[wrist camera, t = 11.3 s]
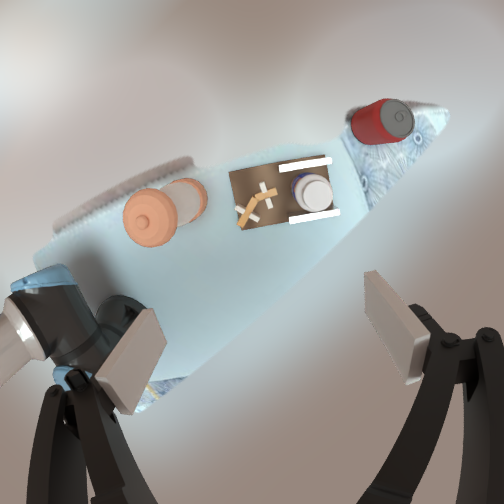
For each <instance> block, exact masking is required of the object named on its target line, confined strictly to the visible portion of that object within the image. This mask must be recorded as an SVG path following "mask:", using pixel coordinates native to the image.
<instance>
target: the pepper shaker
mask: <svg viewBox="0 0 504 504" xmlns="http://www.w3.org/2000/svg"><path fill="white" fill-rule="evenodd" d="M207 199H208V198H207V193H206V190H205V189H204V187H203V185H202V184H200V183H199V182H198V181H196V180H194V179H189V178H185V179H180V180H176V181H173V182H172V183H170V184H168V185H166V186H164V187H163V188H161V189H160V190H157V189H151V188H146V189H143V190H139V191H138V192H136V193H135V194H134V195H132V196H131V197H130V199H129V200H128V202H127V203H126V205H125V208H124V211H123V223H124V227H125V230H126V232H127V233H128V235H129V237H130V238H131V239H132V240H133V241H135V242H136V243H137V244H139V245H141V246H144V247H157V246H162V245H163V244H165V243H167V242H168V241H169V240H170V239H171V238H172V237H173V235H174V233H175V231H176V228H177V227H180V226H183V225H185V224H187V223H189V222H191V221H193V220H195V219H196V218H197V217H199V216H200V215H201V214H202V213H203V211H204V210H205V208H206V205H207Z"/></svg>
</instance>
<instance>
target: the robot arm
mask: <svg viewBox="0 0 504 504" xmlns="http://www.w3.org/2000/svg"><path fill="white" fill-rule="evenodd" d="M77 285H78V284H77V282H75V280H74V279H73V277H72V275H71V273H70V271H69V269H68V268H67V266H65V265H64V264H55V265H52V266H50V267H47V268H45V269H42V270H40V271H37V272H35V273H33V274H31V275H28V276H27V277H24V278H22V279H20V280H18V281H15V282H13V283H12V284H11V292H12V293H13V294H11V295H10V296H8V297H7V298H6V299H5V303H4V309H3V312H2V313H1V314H0V387H2V386H3V385H4V384H5V383H6V382H7V381H8V380H9V379H10V378H11V377H12V376H13V375H15V374H16V373H17V372H18V371H19V370H20V369H21V368H22V367H23V366H24V365H26V364H27V363H28V362H29V361H30V360H31V359H36V360H41V361H45V360H46V359H47V358H48V357H49V356H50V357H51V359H52V360H53V362H54V363H55V365H56V367H55V368H54V371H53V378H54V381H55V383H56V385H53V386H51V387H49V389H48V390H47V391H46V393H45V396H44V400H43V404H42V407H41V411H40V415H39V420H38V423H37V428H36V433H35V438H34V443H33V448H32V454H31V460H30V468H29V476H28V486H27V501H26V504H88V495H87V476H86V466H87V469H88V473H89V476H90V479H91V482H92V486H93V489H94V492H95V497H92V498H91V500H90V501H91V504H158V503H157V501H156V500H155V498H154V496H153V494H152V493H151V491H150V489H149V487H148V485H147V484H146V482H145V480H144V478H143V476H142V474H141V472H140V470H139V468H138V466H137V464H136V462H135V460H134V458H133V455H132V453H131V451H130V449H129V447H128V444H127V442H126V440H125V438H124V435H123V432H122V430H121V427H120V425H119V422H118V420H117V417H116V415H115V414H114V412H113V410H114V408H115V407H116V408H117V409H118V411H119V412H120V413H121V414H126V415H133V413H134V411H135V408H136V406H137V404H138V402H139V400H140V398H141V396H142V393H143V391H144V389H145V387H146V385H147V383H148V381H149V379H150V377H151V375H152V372H153V370H154V368H155V366H156V364H157V362H158V360H159V358H160V356H161V354H162V352H163V350H164V348H165V346H166V344H167V341H166V339H165V336H164V334H163V332H162V329H161V327H160V325H159V322H158V320H157V318H156V315H155V313H154V310H153V308H150V309H146V308H145V307H144V306H143V305H142V304H140V303H139V302H137V301H135V300H134V299H131V298H129V297H125V296H113V297H110V298H108V299H107V300H106V301H105V302H104V303H103V304H102V305H101V306H100V307H99V309H98V311H97V314H96V318H95V317H94V316H93V314H92V312H91V310H90V309H89V307H88V305H87V303H86V301H85V299H84V297H83V295H82V293H81V292H80V290H79V288H78V286H77ZM364 286H365V313H366V315H367V316H368V318H369V320H370V322H371V323H372V325H373V327H374V328H375V330H376V332H377V334H378V335H379V337H380V339H381V341H382V342H383V344H384V346H385V348H386V350H387V351H388V353H389V355H390V357H391V359H392V360H393V362H394V364H395V366H396V368H397V370H398V372H399V373H400V375H401V377H402V379H403V381H404V383H405V385H408V384H411V383H414V382H417V381H419V380H420V378H421V375H422V371H423V373H424V378H423V380H422V384H421V386H420V389H419V391H418V394H417V397H416V399H415V401H414V404H413V406H412V408H411V411H410V413H409V415H408V418H407V420H406V422H405V424H404V426H403V428H402V430H401V432H400V435H399V437H398V439H397V440H396V442H395V444H394V446H393V448H392V450H391V452H390V454H389V455H388V457H387V459H386V461H385V463H384V464H383V466H382V468H381V469H380V471H379V473H378V474H377V476H376V477H375V479H374V480H373V482H372V483H371V485H370V486H369V487H368V488H367V490H366V491H365V492H364V494H363V495H362V497H361V498H360V499H359V501H358V502H357V503H356V504H410V503H411V501H412V496H413V494H414V492H415V490H416V488H417V486H418V484H419V482H420V480H421V478H422V476H423V474H424V472H425V470H426V468H427V465H428V463H429V461H430V458H431V456H432V453H433V451H434V448H435V446H436V443H437V441H438V438H439V435H440V432H441V429H442V427H443V424H444V421H445V418H446V414H447V411H448V408H449V404H450V400H451V397H452V393H453V389H454V385H455V384H460V383H462V384H463V400H464V440H463V456H462V467H461V475H460V482H459V489H458V494H457V500H456V504H504V346H503V343H502V340H501V337H500V334H499V333H498V332H497V331H496V330H495V329H493V328H488V327H485V328H481V329H480V330H478V332H477V333H476V337H475V338H472V339H465V340H461V338H460V337H459V336H458V335H456V334H454V333H446V332H445V331H444V330H443V329H442V328H441V327H440V326H439V324H438V323H437V322H436V321H435V320H434V319H432V317H431V316H430V315H429V314H428V312H427V311H426V310H425V309H424V308H423V307H421V306H419V305H417V304H413V305H409V306H407V305H406V304H405V302H404V301H403V300H402V299H401V298H400V297H399V296H398V294H397V293H396V292H395V291H394V290H393V289H392V288H391V286H390V285H389V284H388V283H387V282H386V281H385V280H384V279H383V278H382V277H381V275H380V274H379V273H378V272H377V271H376V270H375V271H370V272H365V273H364ZM63 420H64V421H65V422H66V424H64V421H63Z"/></svg>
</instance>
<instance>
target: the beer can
mask: <svg viewBox="0 0 504 504" xmlns="http://www.w3.org/2000/svg"><path fill="white" fill-rule="evenodd" d="M414 125H415V120H414V115H413V113H412V111H411V109H410V108H409V107H408V105H407V104H405V103H404V102H403V101H400V100H397V99H382V100H379V101H377V102H375V103H372V104H370V105H368V106H366V107H364V108H362V109H360V110H358V111H357V112H356V113H355V114H354V116H353V118H352V121H351V127H352V131H353V133H354V135H355V137H356V138H357V139H358V140H359V141H361V142H362V143H364V144H367V145H376V144H385V143H394V142H400V141H402V140H404V139H405V138H406V137H407V136H409V135H410V134H411V133H412V132H413V129H414Z"/></svg>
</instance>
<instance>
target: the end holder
mask: <svg viewBox="0 0 504 504" xmlns="http://www.w3.org/2000/svg"><path fill="white" fill-rule="evenodd" d="M327 164H332V159H331V157H328V158H320V159H313V160H307V161H300V162H294V163H289V164H283V165H278V170H279V172H284V171H290V170H295V169H301V168H308V167H314V166H320V165H327ZM338 215H340V209H339V208H338V207H336V206H334V205H329V206H328V207H327V208H326V209H324V210H322V211H319V212H310V211H307V210H300V211H294V212H289V213H287V216H288V220H289V222H290V224H293V223H298V222H304V221H309V220H315V219H320V218H326V217H332V216H338Z"/></svg>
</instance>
